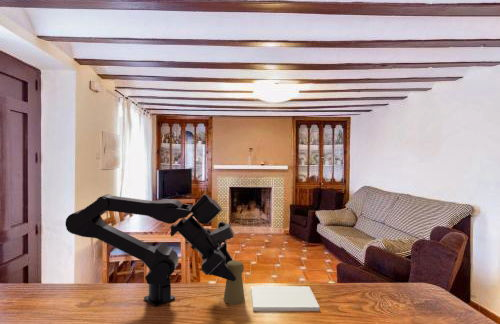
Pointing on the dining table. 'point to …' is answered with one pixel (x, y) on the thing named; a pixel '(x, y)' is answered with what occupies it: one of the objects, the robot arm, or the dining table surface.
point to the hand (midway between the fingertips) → (235, 273)
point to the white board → (283, 298)
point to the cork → (235, 284)
